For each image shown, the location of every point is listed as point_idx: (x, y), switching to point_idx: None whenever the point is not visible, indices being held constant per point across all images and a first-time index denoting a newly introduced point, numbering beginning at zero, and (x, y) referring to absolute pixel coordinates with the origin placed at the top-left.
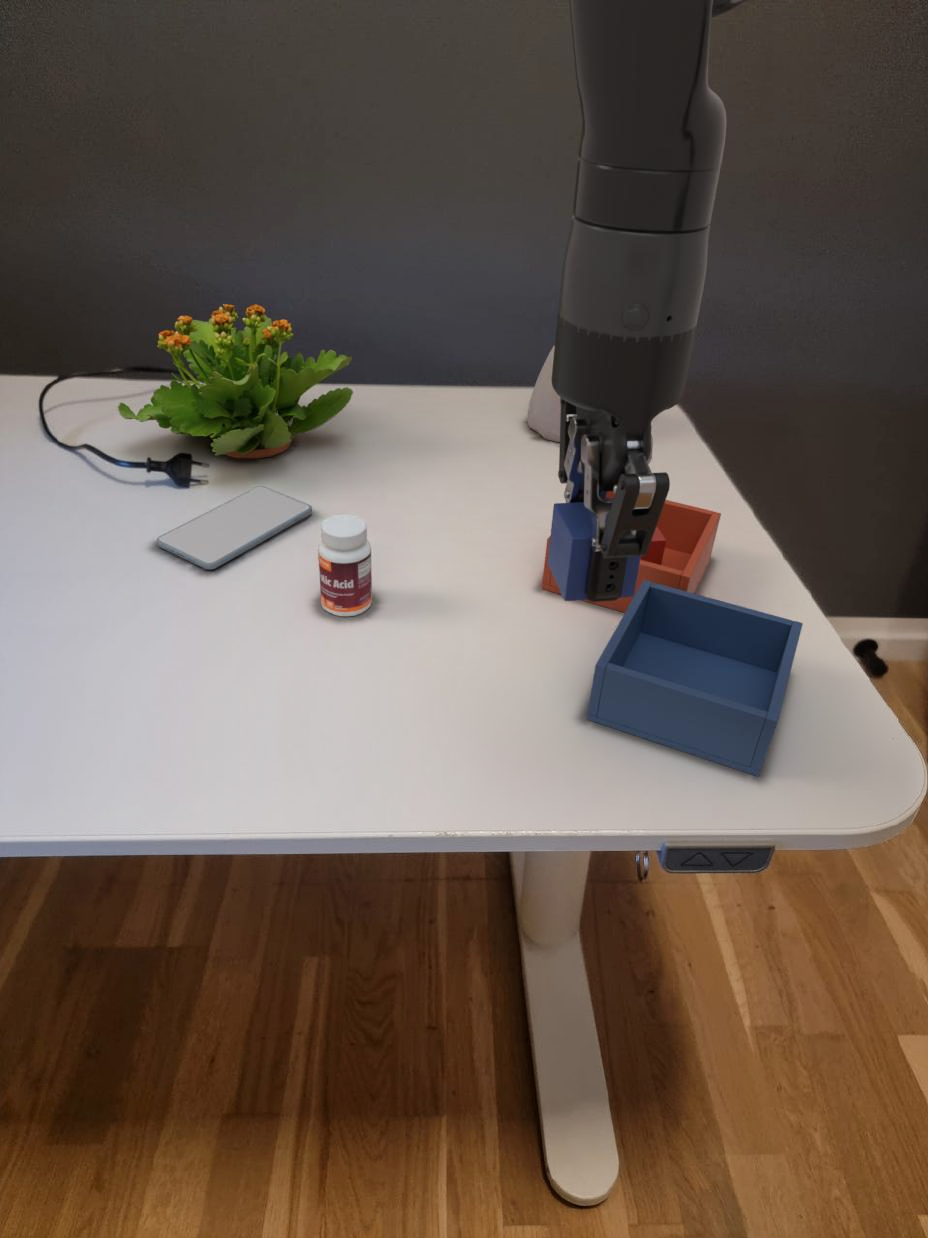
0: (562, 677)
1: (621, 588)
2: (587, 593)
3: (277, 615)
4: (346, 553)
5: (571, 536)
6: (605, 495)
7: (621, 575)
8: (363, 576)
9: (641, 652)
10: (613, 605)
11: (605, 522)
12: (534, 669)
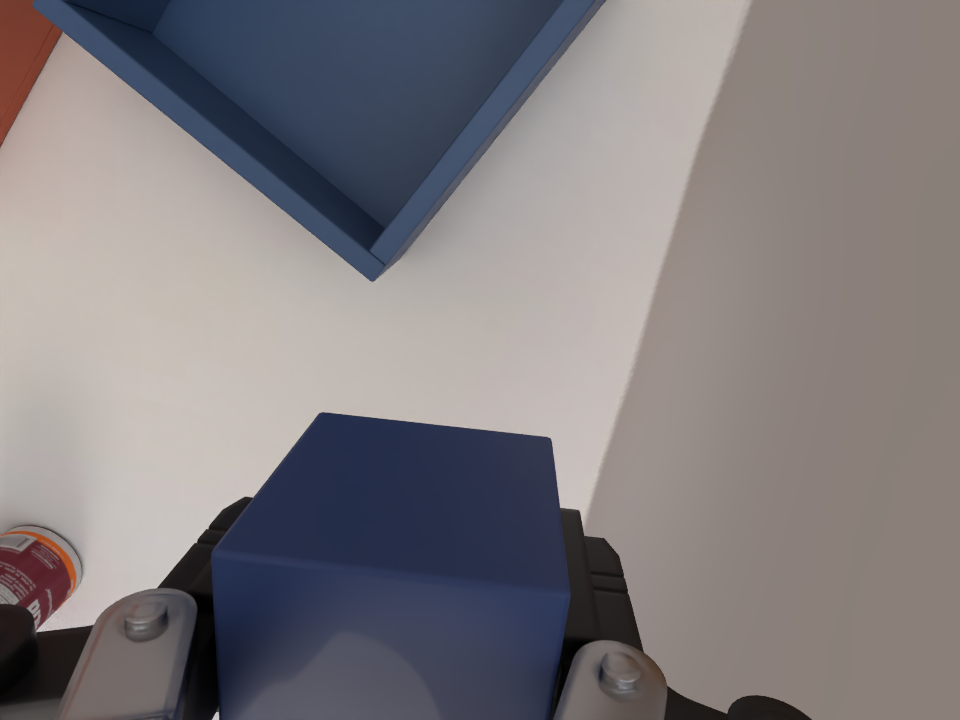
0: (277, 258)
1: (582, 528)
2: None
3: None
4: None
5: None
6: (191, 639)
7: (628, 604)
8: (11, 592)
9: (225, 66)
10: (41, 53)
11: (425, 703)
12: (249, 302)
